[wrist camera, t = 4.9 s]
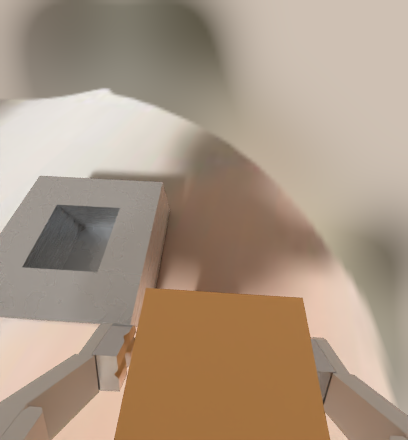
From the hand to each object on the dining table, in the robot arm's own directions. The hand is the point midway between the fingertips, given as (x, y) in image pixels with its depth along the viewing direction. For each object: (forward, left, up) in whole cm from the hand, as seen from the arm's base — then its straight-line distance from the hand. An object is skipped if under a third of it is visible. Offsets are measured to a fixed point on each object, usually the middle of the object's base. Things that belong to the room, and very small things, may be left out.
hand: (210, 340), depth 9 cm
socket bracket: (-11, +6, -8) cm, 15 cm away
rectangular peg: (0, -1, -8) cm, 8 cm away
